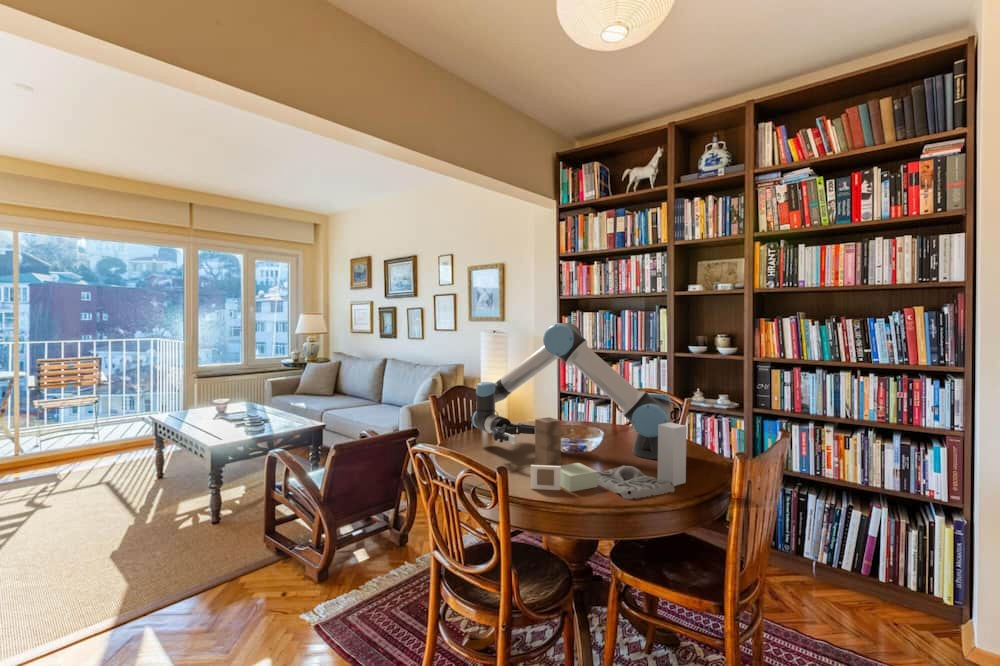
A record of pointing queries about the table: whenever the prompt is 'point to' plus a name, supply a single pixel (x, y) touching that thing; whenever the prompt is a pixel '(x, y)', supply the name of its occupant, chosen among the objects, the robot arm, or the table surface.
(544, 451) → the walnut block
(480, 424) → the robot arm
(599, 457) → the table surface
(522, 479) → the table surface
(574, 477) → the sage base block
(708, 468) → the table surface
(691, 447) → the table surface
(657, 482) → the wall plaque
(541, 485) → the card
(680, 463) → the grey plastic block
